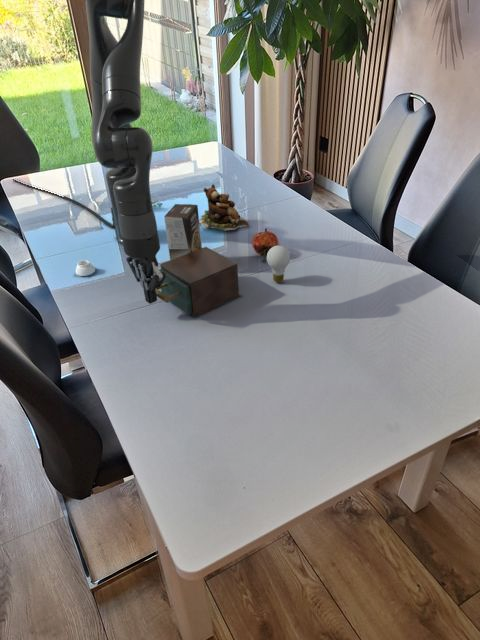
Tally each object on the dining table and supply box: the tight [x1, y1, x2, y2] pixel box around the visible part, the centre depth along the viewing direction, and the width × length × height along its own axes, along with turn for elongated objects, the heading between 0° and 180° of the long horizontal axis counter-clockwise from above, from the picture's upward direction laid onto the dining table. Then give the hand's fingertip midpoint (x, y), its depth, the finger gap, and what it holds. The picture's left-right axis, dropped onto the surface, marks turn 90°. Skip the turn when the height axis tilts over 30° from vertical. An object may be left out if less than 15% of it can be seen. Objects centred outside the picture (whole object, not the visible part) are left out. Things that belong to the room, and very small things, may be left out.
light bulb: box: [266, 245, 291, 284], centre depth 126 cm, size 6×6×10 cm
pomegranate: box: [251, 227, 280, 261], centre depth 139 cm, size 7×7×10 cm
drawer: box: [156, 268, 193, 316], centre depth 120 cm, size 17×11×7 cm
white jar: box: [75, 259, 96, 277], centre depth 134 cm, size 5×3×5 cm
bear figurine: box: [199, 183, 250, 232], centre depth 155 cm, size 14×15×12 cm
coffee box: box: [163, 203, 203, 261], centre depth 132 cm, size 9×6×16 cm
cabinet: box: [159, 246, 240, 318], centre depth 122 cm, size 14×13×9 cm
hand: (151, 301), depth 114 cm, fingers closed
